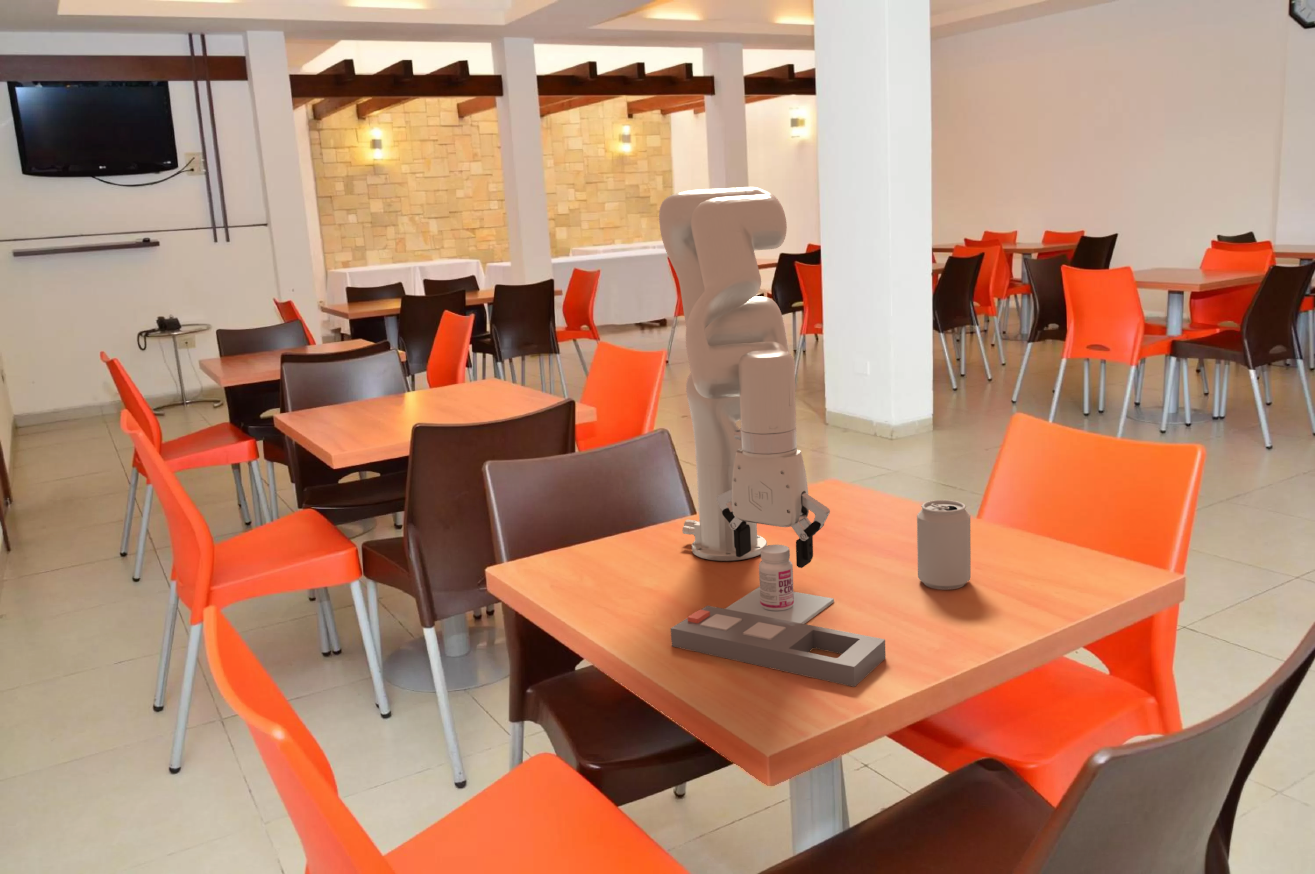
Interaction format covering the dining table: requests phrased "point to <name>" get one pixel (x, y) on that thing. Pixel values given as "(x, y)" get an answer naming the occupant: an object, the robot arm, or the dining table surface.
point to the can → (943, 544)
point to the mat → (799, 612)
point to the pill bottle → (776, 578)
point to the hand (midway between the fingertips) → (773, 559)
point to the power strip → (779, 644)
